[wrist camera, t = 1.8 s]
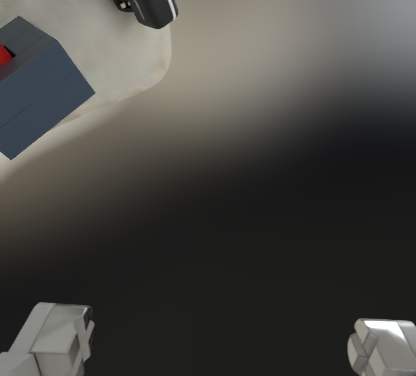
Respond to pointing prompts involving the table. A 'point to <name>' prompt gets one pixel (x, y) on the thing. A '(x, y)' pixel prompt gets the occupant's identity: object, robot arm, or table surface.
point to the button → (4, 56)
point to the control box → (35, 86)
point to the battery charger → (150, 11)
